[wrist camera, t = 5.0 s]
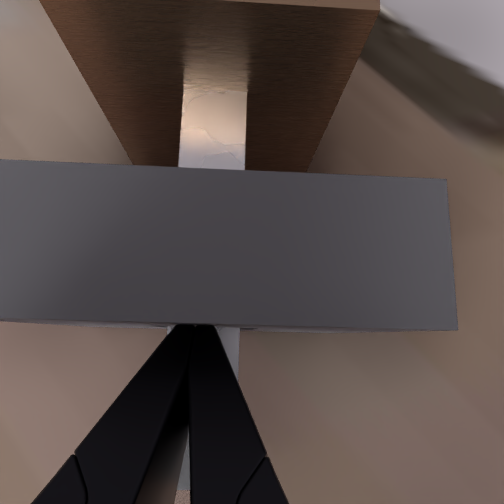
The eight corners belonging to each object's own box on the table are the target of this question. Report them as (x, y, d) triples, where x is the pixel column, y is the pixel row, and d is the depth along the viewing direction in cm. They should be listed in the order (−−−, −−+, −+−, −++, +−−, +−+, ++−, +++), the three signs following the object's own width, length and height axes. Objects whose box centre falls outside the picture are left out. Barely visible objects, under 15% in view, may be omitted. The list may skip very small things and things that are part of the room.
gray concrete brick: (329, 333, 17) (458, 330, 7) (93, 326, 17) (-97, 315, 7) (328, 264, 18) (446, 179, 8) (100, 256, 17) (-65, 156, 8)
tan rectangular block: (304, 432, 17) (405, 567, 7) (111, 429, 17) (-61, 566, 7) (304, 82, 20) (372, -154, 10) (144, 73, 20) (59, -180, 10)
